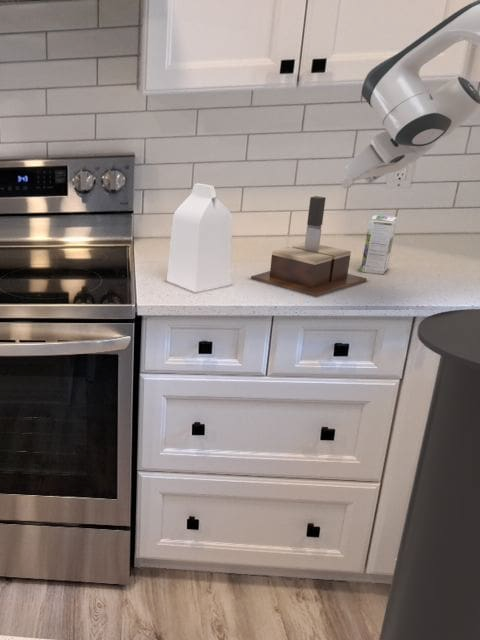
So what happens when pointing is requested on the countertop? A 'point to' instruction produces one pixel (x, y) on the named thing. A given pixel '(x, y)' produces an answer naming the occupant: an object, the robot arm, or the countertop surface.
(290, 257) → the brown square slotted block
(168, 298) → the countertop surface
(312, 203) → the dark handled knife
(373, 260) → the syrup box
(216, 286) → the milk
